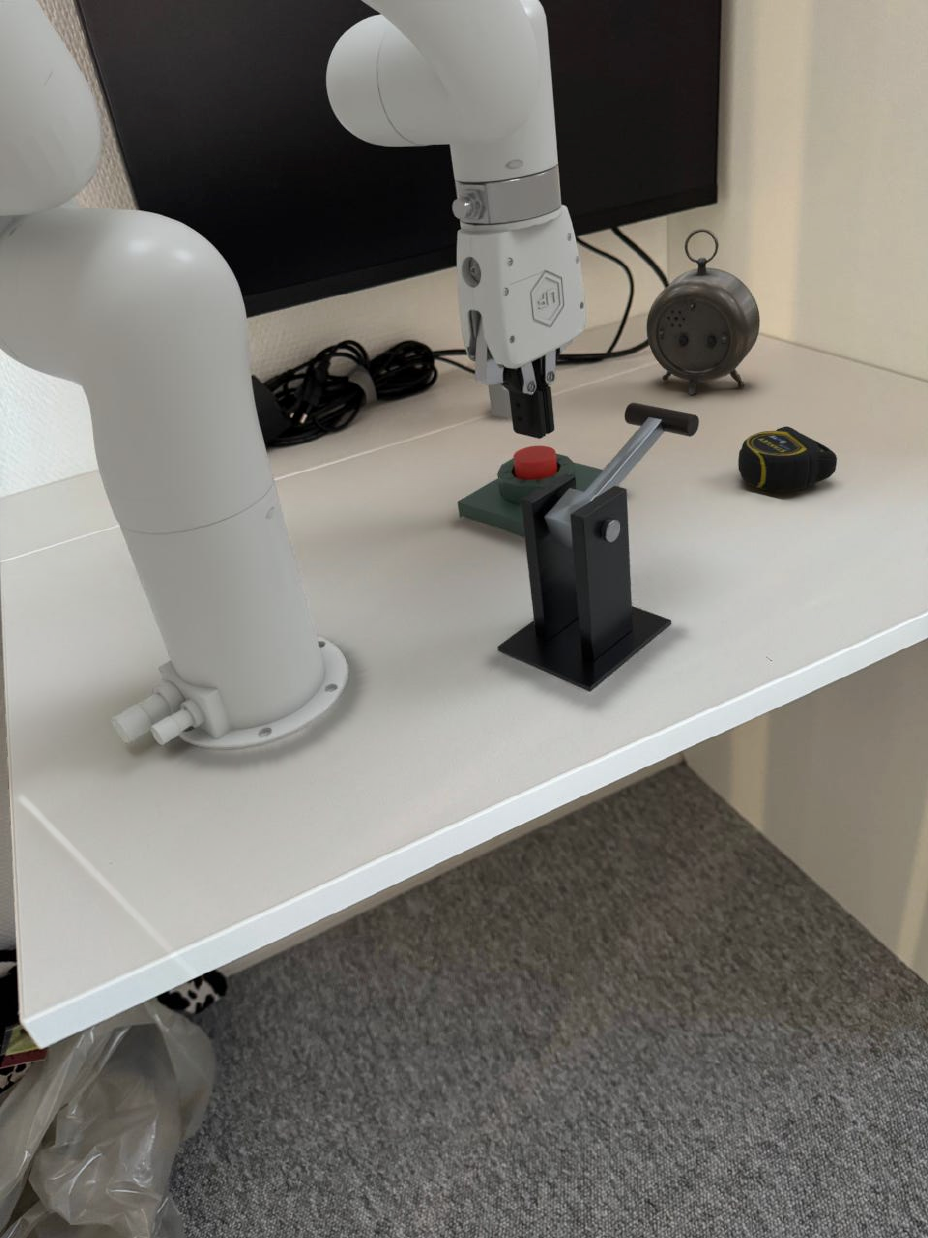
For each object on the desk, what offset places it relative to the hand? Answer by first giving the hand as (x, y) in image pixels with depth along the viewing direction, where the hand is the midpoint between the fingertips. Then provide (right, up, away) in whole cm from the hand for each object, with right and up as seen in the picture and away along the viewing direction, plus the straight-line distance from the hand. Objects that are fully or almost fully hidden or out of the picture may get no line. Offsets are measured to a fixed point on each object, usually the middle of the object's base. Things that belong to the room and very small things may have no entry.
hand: (534, 431), depth 79 cm
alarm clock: (+19, +9, +22) cm, 31 cm away
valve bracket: (+2, -18, -14) cm, 23 cm away
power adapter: (0, +7, +25) cm, 26 cm away
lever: (+4, -7, -17) cm, 19 cm away
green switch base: (+1, -6, +4) cm, 7 cm away
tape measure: (+22, -4, +3) cm, 22 cm away
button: (0, -3, +2) cm, 4 cm away
